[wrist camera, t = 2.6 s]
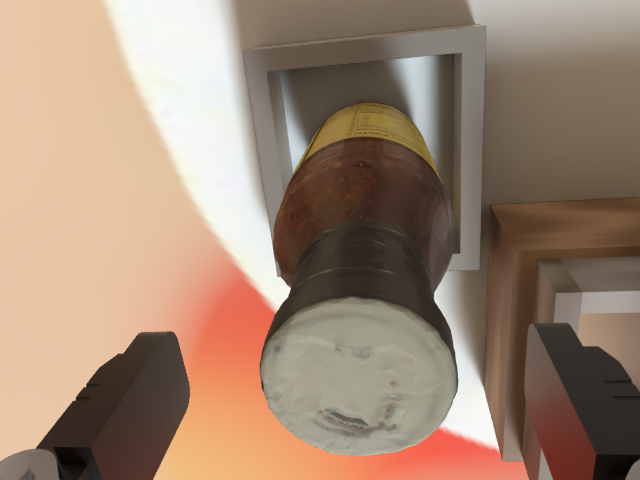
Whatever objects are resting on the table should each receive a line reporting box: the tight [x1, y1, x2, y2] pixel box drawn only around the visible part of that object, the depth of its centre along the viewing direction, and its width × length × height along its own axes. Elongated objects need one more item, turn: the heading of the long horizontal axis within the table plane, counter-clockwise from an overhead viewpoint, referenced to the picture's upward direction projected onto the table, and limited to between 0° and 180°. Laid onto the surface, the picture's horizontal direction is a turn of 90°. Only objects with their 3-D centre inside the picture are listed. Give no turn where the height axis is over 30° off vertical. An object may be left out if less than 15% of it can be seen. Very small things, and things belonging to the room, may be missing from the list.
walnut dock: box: [484, 197, 640, 480], centre depth 26 cm, size 13×13×9 cm
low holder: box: [243, 24, 486, 277], centre depth 27 cm, size 11×12×3 cm
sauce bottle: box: [260, 101, 458, 456], centre depth 19 cm, size 7×6×20 cm
